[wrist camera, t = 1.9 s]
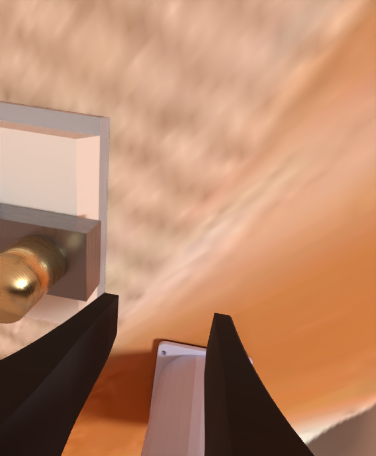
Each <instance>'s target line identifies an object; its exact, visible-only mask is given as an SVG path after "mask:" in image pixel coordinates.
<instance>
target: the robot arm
mask: <svg viewBox="0 0 376 456" xmlns="http://www.w3.org/2000/svg"><path fill="white" fill-rule="evenodd" d="M118 300H119V295H114V294H108V293H103V294H102V295H100V296H99V297H97V298H96V299H95V300H94V301H92V302H91V303H90V304H88V305H87V306H86V307H84V308H83V309H82V310H80V311H79V312H78V313H76V314H75V315H73V316H72V317H71V318H69V319H68V320H66V321H65V322H64V323H62V324H61V325H59V326H58V327H56V328H55V329H53V330H52V331H50V332H49V333H47V334H46V335H44V336H43V337H41V338H39V339H38V340H36V341H35V342H33V343H31V344H30V345H28V346H26V347H24V348H23V349H21V350H19V351H17V352H15V353H14V354H12V355H10V356H8V357H6V358H4V359H2V360H0V456H61V454H62V452H63V449H64V447H65V445H66V442H67V440H68V437H69V435H70V433H71V430H72V428H73V426H74V424H75V421H76V419H77V417H78V415H79V413H80V411H81V409H82V407H83V405H84V403H85V401H86V400H87V398H88V396H89V394H90V392H91V390H92V388H93V386H94V384H95V382H96V380H97V378H98V376H99V374H100V372H101V371H102V369H103V367H104V365H105V363H106V361H107V359H108V356H109V354H110V351H111V348H112V346H113V343H114V340H115V338H116V335H117V319H118ZM163 351H165V352H163ZM141 456H314V455H313V453H311V451H310V450H309V448H308V447H307V446H306V445H305V443H304V442H303V441H302V440H301V438H300V437H299V436H298V434H297V433H296V432H295V431H294V429H293V428H292V427H291V425H290V424H289V423H288V421H287V420H286V418H285V417H284V415H283V414H282V413H281V411H280V410H279V408H278V407H277V405H276V404H275V402H274V401H273V399H272V398H271V396H270V395H269V393H268V391H267V390H266V388H265V386H264V385H263V383H262V381H261V380H260V378H259V376H258V374H257V373H256V371H255V369H254V367H253V365H252V359H251V358H250V357H248V355H247V353H246V351H245V349H244V347H243V345H242V343H241V340H240V338H239V336H238V333H237V331H236V329H235V326H234V323H233V320H232V318H231V317H230V316H229V315H224V314H218V313H214V318H213V322H212V327H211V331H210V336H209V340H208V345H207V349H205V348H200V347H195V346H189V345H184V344H179V343H174V342H168V341H161V342H160V343H159V346H158V353H157V361H156V369H155V376H154V384H153V392H152V399H151V407H150V417H149V422H148V426H147V430H146V435H145V439H144V443H143V448H142V452H141Z"/></svg>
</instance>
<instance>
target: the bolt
mask: <svg viewBox="0 0 376 456" xmlns="http://www.w3.org/2000/svg"><path fill="white" fill-rule="evenodd" d="M100 257H101V221H100V220H94V219H88V218H82V217H76V216H71V215H65V214H59V213H53V212H47V211H41V210H35V209H29V208H24V207H18V206H12V205H6V204H0V323H6V324H7V323H14V322H16V321H18V320H20V319H21V318H23V317H24V316H25V315H26V314H27V313H28V312H29V310H30V309H31V308H32V307H33V306H34V305H35V304H36V303H37V302H38V301H39V300H40V299H41V298H42V297H43V296H44V295H45V294H47V295H53V296H58V297H64V298H69V299H74V300H80V301H85V302H87V300H88V299H89V298H90V296H91V295H92V293H93V292H94V291H95V289H96V288H97V287H98V285H99V284H100Z"/></svg>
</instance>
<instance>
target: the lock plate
mask: <svg viewBox="0 0 376 456" xmlns="http://www.w3.org/2000/svg"><path fill="white" fill-rule="evenodd" d="M109 122H110V118H108V117H101V116H94V115H88V114H81V113H75V112H68V111H62V110H55V109H49V108H42V107H36V106H29V105H23V104H16V103H10V102H3V101H0V204H6V205H12V206H18V207H24V208H29V209H35V210H41V211H47V212H53V213H59V214H65V215H71V216H76V217H82V218H88V219H94V220H100V221H101V257H100V284H99V285H98V287H97V288H96V289H95V291H94V292H93V293H92V295H91V296H90V298H89V299H88V300H87V302H85V301H80V300H74V299H69V298H64V297H58V296H53V295H47V294H45V295H44V296H43V297H42V298H41V299H40V300H39V301H38V302H37V303H36V304H35V305H34V306H33V307H32V308H31V309H30V310H29V312H28V313H27V314H26V315H25V316H24V317H26V318H31V319H36V320H42V321H47V322H52V323H58V324H62V323H64V322H65V321H66V320H68V319H69V318H71V317H72V316H73V315H75V314H76V313H78V312H79V311H80V310H82V309H83V308H84V307H86V306H87V305H88V304H90V303H91V302H92V301H94V300H95V299H96V298H97V297H99V296H100V295H102V294H103V293H105V260H106V225H107V191H108V156H109Z"/></svg>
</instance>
